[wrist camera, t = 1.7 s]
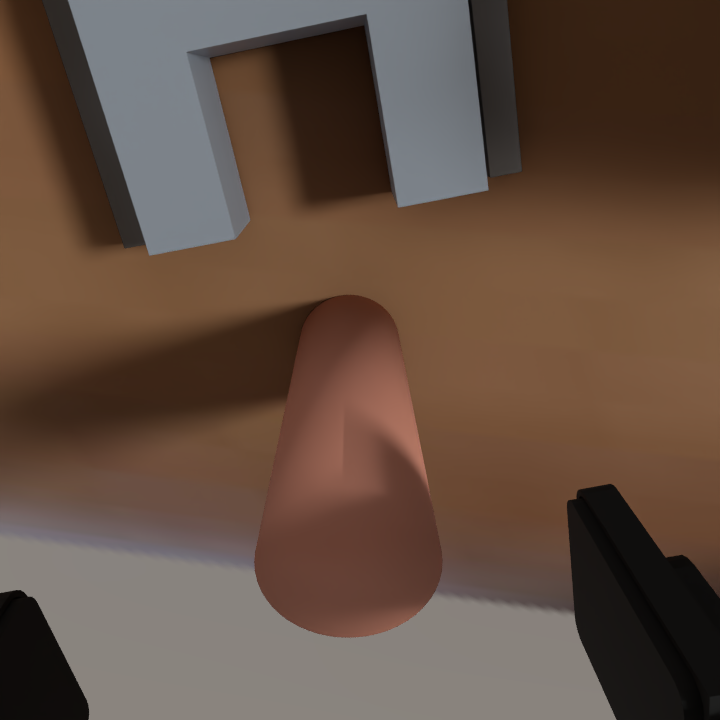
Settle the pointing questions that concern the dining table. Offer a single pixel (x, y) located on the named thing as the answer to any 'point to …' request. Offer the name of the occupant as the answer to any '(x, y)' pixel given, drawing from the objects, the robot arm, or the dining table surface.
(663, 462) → the dining table surface
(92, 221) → the dining table surface
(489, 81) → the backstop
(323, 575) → the dowel
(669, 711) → the robot arm
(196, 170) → the block
